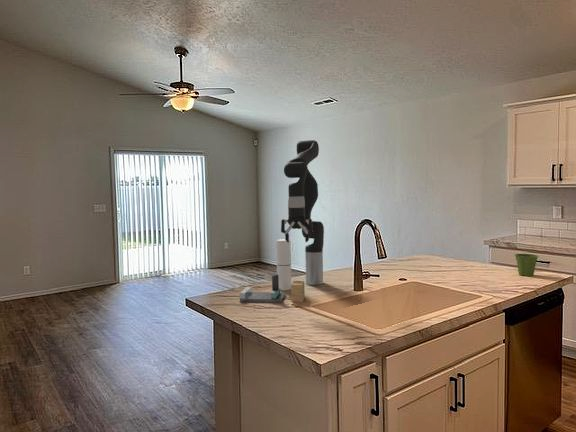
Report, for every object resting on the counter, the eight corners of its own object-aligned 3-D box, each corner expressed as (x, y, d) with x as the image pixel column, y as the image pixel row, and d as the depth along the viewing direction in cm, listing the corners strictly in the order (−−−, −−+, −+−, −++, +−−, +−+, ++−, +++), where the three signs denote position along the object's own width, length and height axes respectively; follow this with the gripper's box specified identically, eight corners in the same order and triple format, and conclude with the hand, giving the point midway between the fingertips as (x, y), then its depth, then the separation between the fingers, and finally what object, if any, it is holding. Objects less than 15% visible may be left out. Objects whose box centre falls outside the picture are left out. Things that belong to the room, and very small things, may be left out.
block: (294, 297, 203) (293, 280, 202) (304, 297, 202) (304, 280, 202) (291, 301, 196) (291, 284, 195) (302, 302, 195) (302, 284, 194)
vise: (246, 295, 209) (246, 286, 209) (285, 295, 206) (285, 287, 206) (239, 301, 197) (239, 293, 197) (280, 302, 194) (280, 294, 194)
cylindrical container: (279, 290, 216) (278, 241, 214) (275, 287, 223) (274, 239, 221) (293, 289, 218) (292, 240, 216) (289, 286, 225) (288, 238, 223)
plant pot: (543, 276, 238) (543, 255, 237) (527, 278, 233) (528, 257, 232) (524, 272, 249) (524, 252, 248) (509, 274, 244) (509, 254, 243)
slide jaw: (274, 292, 206) (274, 272, 206) (281, 292, 206) (280, 272, 205) (270, 298, 195) (269, 277, 195) (276, 298, 195) (276, 277, 194)
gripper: (313, 205, 198) (313, 241, 199) (282, 206, 201) (283, 240, 202) (311, 206, 191) (311, 243, 192) (279, 207, 193) (280, 243, 195)
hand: (297, 242), depth 197 cm, fingers open, 8 cm apart
